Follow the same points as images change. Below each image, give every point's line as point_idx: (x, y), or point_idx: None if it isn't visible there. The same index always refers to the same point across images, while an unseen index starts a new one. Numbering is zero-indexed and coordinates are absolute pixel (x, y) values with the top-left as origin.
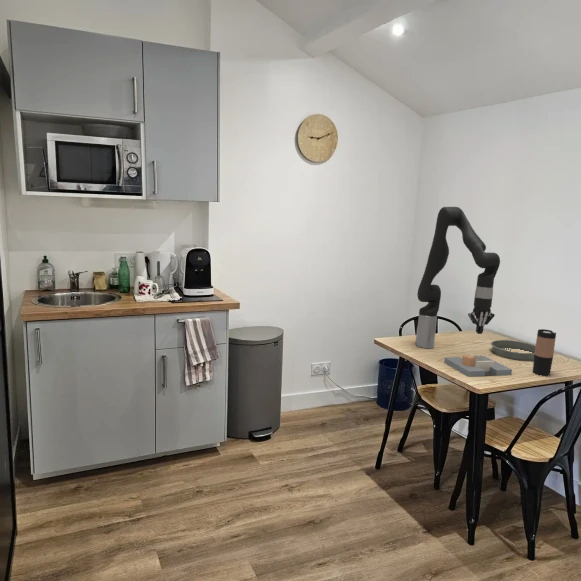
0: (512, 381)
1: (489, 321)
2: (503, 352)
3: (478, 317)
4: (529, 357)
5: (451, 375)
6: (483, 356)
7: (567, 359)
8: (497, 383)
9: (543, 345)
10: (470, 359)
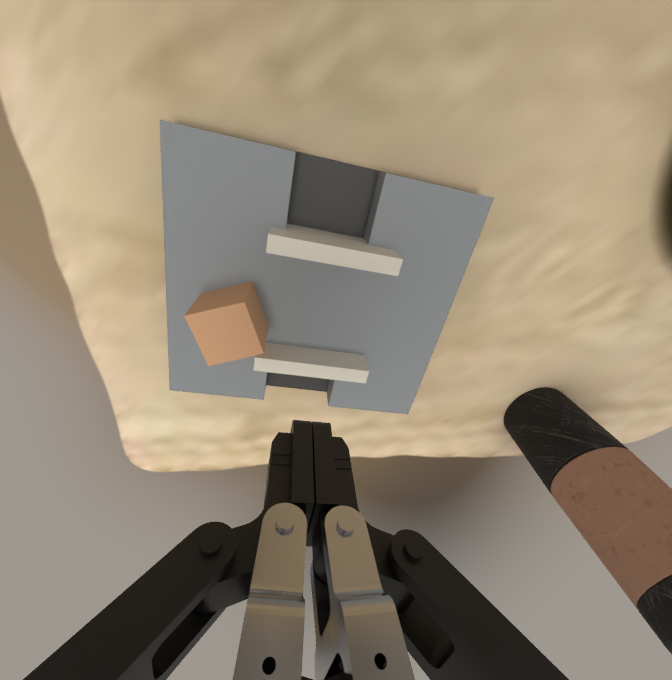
0: None
1: (435, 631)
2: None
3: None
4: None
5: (93, 337)
6: (479, 202)
7: None
8: (256, 449)
9: (596, 553)
10: (210, 362)
